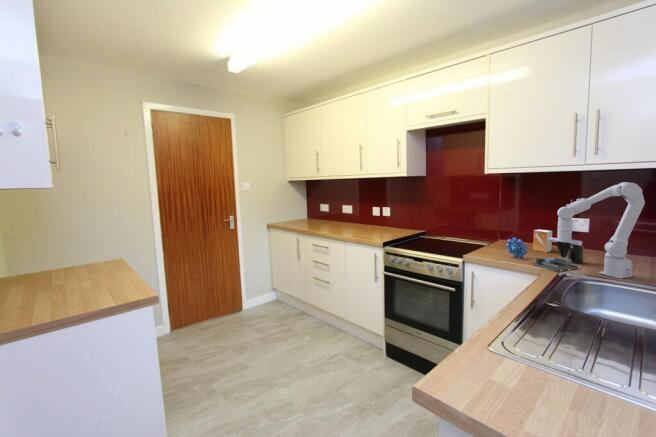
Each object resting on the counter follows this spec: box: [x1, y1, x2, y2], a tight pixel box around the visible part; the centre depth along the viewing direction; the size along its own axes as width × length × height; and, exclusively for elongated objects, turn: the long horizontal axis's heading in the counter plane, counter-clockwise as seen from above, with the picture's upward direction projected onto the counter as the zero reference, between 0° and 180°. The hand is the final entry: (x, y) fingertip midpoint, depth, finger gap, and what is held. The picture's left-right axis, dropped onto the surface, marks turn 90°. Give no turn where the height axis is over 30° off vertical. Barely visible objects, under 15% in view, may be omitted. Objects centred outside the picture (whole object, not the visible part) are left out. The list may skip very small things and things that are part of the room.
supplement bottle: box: [567, 244, 585, 265], centre depth 173 cm, size 7×7×12 cm
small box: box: [532, 229, 553, 253], centre depth 201 cm, size 8×6×13 cm
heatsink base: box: [532, 256, 579, 272], centre depth 167 cm, size 14×14×4 cm
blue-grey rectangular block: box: [541, 256, 556, 265], centre depth 170 cm, size 7×5×3 cm, turn 15°
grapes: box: [505, 237, 528, 259], centre depth 187 cm, size 12×7×12 cm, turn 42°
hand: (563, 257), depth 160 cm, fingers closed
